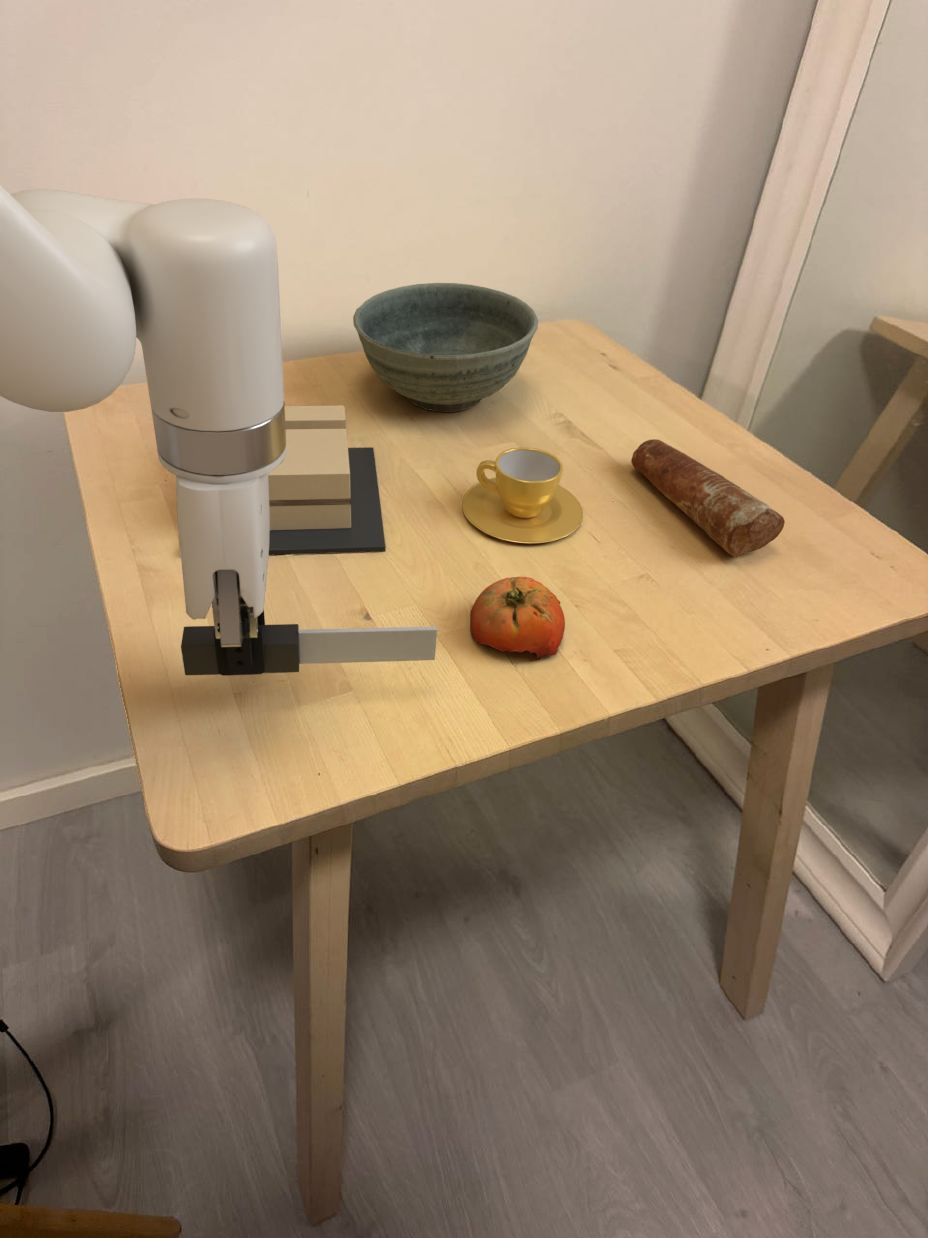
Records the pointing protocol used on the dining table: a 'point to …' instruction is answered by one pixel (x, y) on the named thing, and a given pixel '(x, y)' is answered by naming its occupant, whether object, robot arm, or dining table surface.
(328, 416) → the slice
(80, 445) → the dining table surface
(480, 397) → the bowl
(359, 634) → the knife
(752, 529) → the salami
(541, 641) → the tomato
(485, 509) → the cup
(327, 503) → the cake
